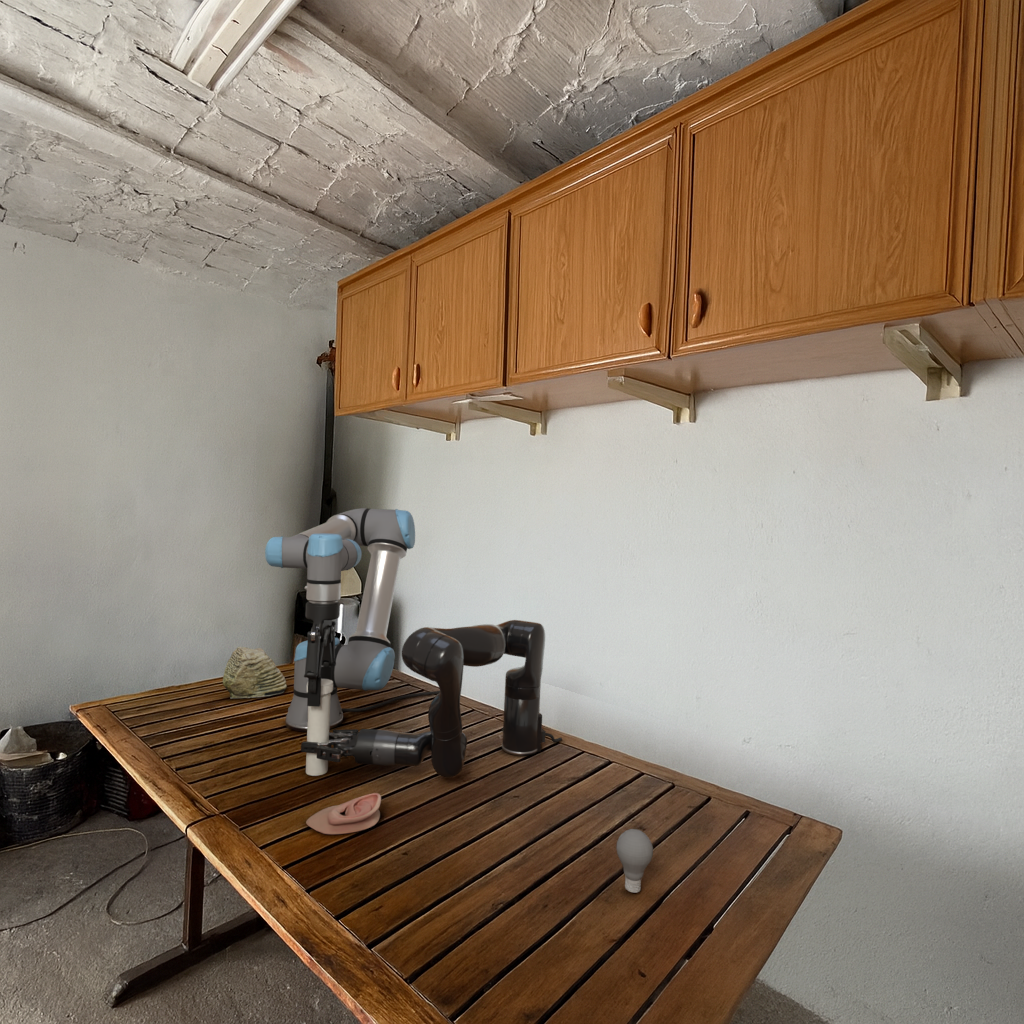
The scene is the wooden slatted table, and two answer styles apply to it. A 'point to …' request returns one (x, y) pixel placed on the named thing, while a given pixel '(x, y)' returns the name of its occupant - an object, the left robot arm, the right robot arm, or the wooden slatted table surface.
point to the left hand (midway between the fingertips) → (319, 699)
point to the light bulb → (634, 857)
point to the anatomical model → (347, 816)
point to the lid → (325, 686)
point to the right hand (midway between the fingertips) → (306, 742)
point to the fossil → (252, 674)
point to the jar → (318, 734)
